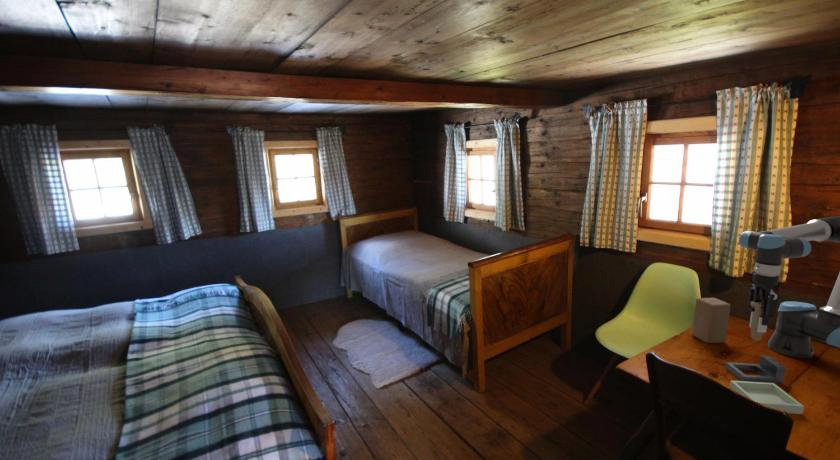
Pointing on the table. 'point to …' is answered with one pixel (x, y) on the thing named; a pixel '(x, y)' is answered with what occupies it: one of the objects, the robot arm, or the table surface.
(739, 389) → the tray
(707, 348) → the table surface
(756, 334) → the handle
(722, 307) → the wooden block
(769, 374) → the socket
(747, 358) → the table surface
